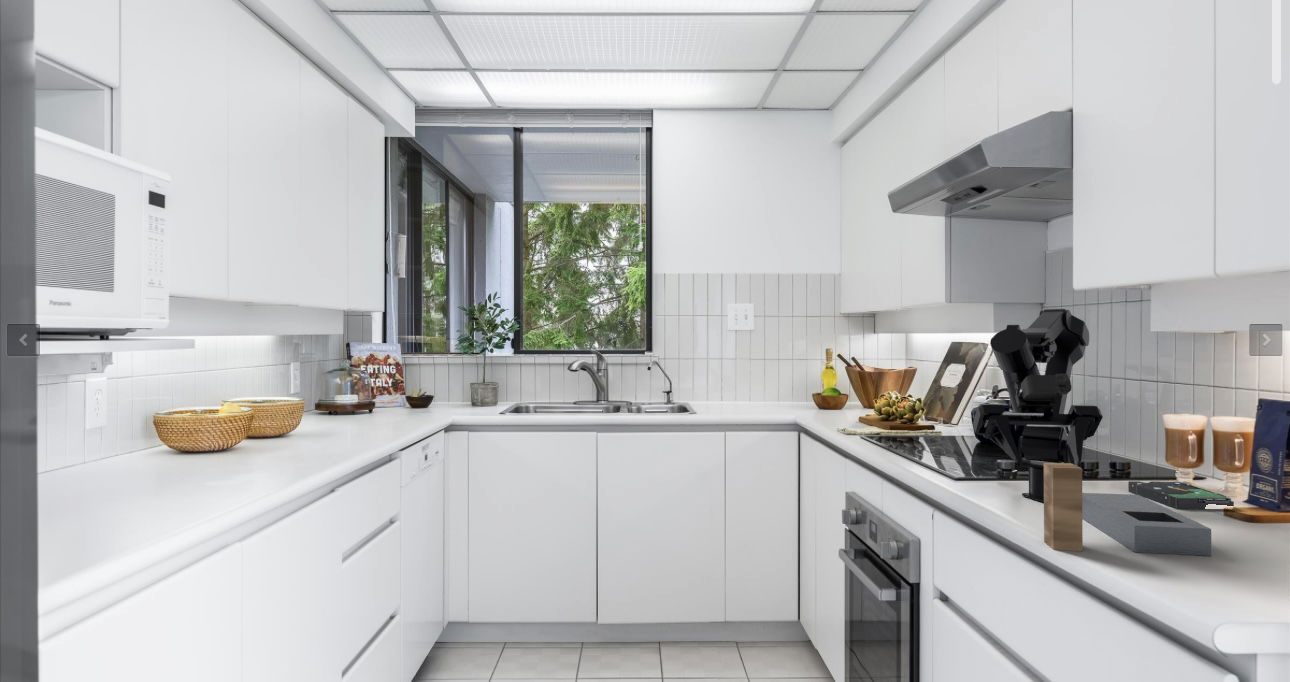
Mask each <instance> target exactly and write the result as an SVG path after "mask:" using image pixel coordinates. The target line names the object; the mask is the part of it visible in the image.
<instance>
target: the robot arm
mask: <svg viewBox="0 0 1290 682" xmlns="http://www.w3.org/2000/svg"><path fill="white" fill-rule="evenodd" d="M989 344H990V348H991V350H992V351H993V355H994V357H995V359H996V362H997V364H998V367H999V369H1000V370H1002V375H1003V378H1004V382H1005V385H1006V390H1007V392H1008V397H1009V401H1008V404H1009V408H1012V410H1013V411H1005V410H1006V408H1005V405H1004V404H1002V403H980V404H978V406H977V408H976V411H975V414H974V418H973V422H972V423H973V424H972V425H973V429H974V430H973V431H974V434H975V435H977V436H983V437H984V438H985V439H989V440H991V441H992V442H993V443H995V444H996V445H997V446H998V447H1000V448H1001V449H1002V450H1003V451H1004V452H1005V453H1006V455H1008V456H1009V457H1010V459H1012V460H1013V461H1014V462H1015V463H1017V462H1019V465H1020V467H1022V468H1028V492H1022V493H1021V496H1023V497H1025V498H1029V499H1031V500H1035V501H1038V502H1041V503H1044V463H1070V464H1074V465H1076V464H1078V465H1080V464H1081V462H1082V458H1083V457H1082V456H1083V449H1084V448H1083V447H1084V442H1085V441H1086V440H1087V439H1088V438H1092V437H1094V436H1095V433H1096V432H1097V429H1098V428H1099V425H1100V423H1101V421H1102V420H1103V414H1102V412H1101V409H1100V408H1099V407H1098V406H1097V405H1093V404H1089V405H1085V404H1083V405H1081V404H1078V405H1077V404H1071V405H1070V407H1069V410H1068V412H1067V413H1065V410H1066V403H1067V398H1068V394H1069V393H1070V392H1071V391H1072V387H1073V386H1072V382H1071V376H1072V371H1073V366H1074V365H1075V364H1077V362H1079V361H1080V360H1081V359H1082V358H1083V357H1084V355H1085V351H1086V347H1088V346H1089V344H1090V332H1089V328H1088V326H1087V325H1086V322H1085V321H1084V320H1082V319H1081V318H1078V317H1077V316H1074V315H1073V314H1072V312H1071V311H1070V309H1066V308H1045V309H1042V310H1040V312H1039V315H1038V316H1037V318H1036V319H1034V321H1033V322H1032V323H1031V324H1030V325H1029V326H1027V328H1022V329H1021V327H1020V324H1006V328H1005V329H1003V330H1000V331H998V332H997V333H995V334H994V335H993V337H992V336H991V338H990V343H989ZM1037 364H1046V365H1045V371H1044V374H1041V372H1040V370H1039V367H1038V365H1037ZM1010 425H1014V426H1024V427H1023V431H1022V433H1021V435H1020V436H1019V438H1018V441H1017V442H1018V443H1017V446H1018V447H1017V446H1016V443H1015V440H1014V437H1013V435H1012V430H1011V427H1010Z"/></svg>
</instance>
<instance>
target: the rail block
mask: <svg viewBox="0 0 1290 682" xmlns="http://www.w3.org/2000/svg"><path fill="white" fill-rule="evenodd" d="M1083 520H1084V522H1086V523H1089V525H1091V526H1093V527H1095V528H1096V529H1098V530H1099V531H1101V532H1102V533H1104V534H1105V535H1106V536H1108V537H1111V538H1112V539H1113V540H1115V541H1116V542H1118V543H1119V544H1121V545H1122V546H1124V547H1126V548H1128V549H1129V550H1130V551H1132V552H1134V553H1143V554H1164V555H1183V556H1203V557H1212V528H1211V527H1208V526H1206V525H1204V524H1202V523H1199V522H1197V521H1195V520H1193V519H1191V518H1189V517H1187V516H1184V515H1182V514H1180V513H1179V512H1177V511H1174V510H1172V509H1170V508H1168V507H1167V506H1166V507H1165V506H1164V505H1162V504H1160V503H1158V502H1155V501H1152V500H1150V499H1147V498H1144V497H1142V496H1140V495H1136V494H1133V493H1131V494H1130V493H1129V494H1127V493H1126V494H1125V493H1103V492H1102V493H1101V492H1100V493H1098V492H1097V493H1096V492H1082V521H1083Z"/></svg>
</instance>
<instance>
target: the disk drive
mask: <svg viewBox="0 0 1290 682" xmlns="http://www.w3.org/2000/svg"><path fill="white" fill-rule="evenodd" d="M1127 487H1128V488H1127V489H1128V491H1127V492H1128V493H1131V494H1132V495H1140V496H1142V497H1144V498H1146V499H1148V500H1151V501H1153V502H1155V503H1157V504H1159V505H1162V506H1164V507H1165V506H1166V507H1167V508H1168V507H1169V508H1172V509H1173V510H1181V511H1182V510H1190V511H1191V510H1194V511H1197V510H1198V511H1201V510H1204V511H1205V507H1206V505H1208V504H1216V505H1227V506H1234V507H1235V501H1233V500H1232V498H1231V497H1229V496H1227V495H1224V494H1220V493H1217V492H1214V491H1210V490H1208V489H1205V488H1201V487H1197V486H1195V485H1192V484H1189V483H1185V482H1181V481H1149V482H1143V481H1139V480H1138V481H1131V480H1130V481H1128V486H1127Z"/></svg>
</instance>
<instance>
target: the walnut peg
mask: <svg viewBox="0 0 1290 682" xmlns="http://www.w3.org/2000/svg"><path fill="white" fill-rule="evenodd" d="M1082 493H1083V468H1082V467H1080V466H1078V465H1076V464H1075V465H1074V464H1070V463H1064V462H1062V463H1052V462H1049V463H1044V502H1043V542H1044V543H1045V544H1046V545H1047V546H1048V547H1050V548H1051V549H1052V550H1054V551H1072V552H1073V551H1074V552H1075V551H1076V552H1083V549H1084V548H1083V546H1084V545H1083V519H1082Z"/></svg>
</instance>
